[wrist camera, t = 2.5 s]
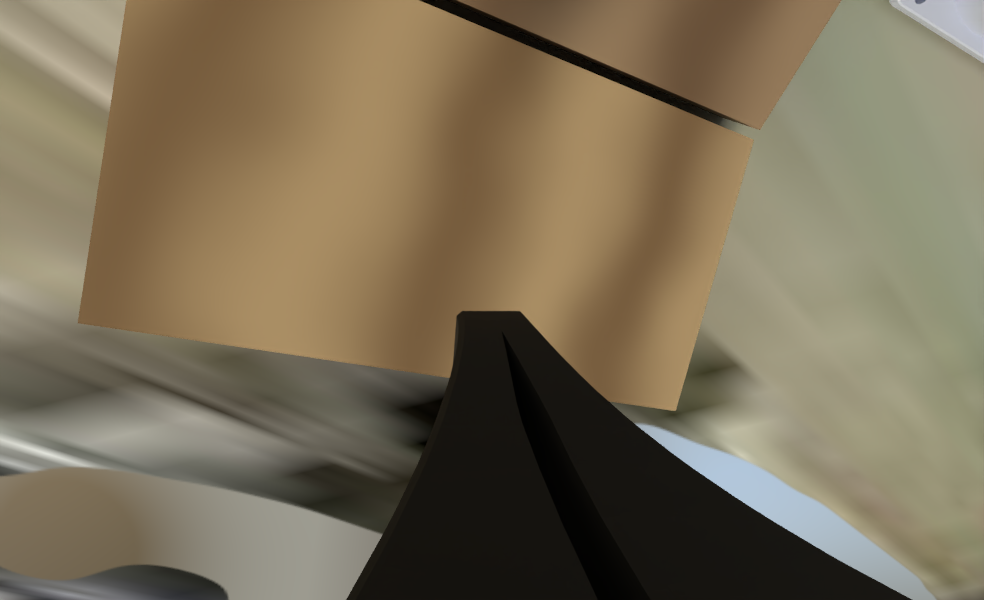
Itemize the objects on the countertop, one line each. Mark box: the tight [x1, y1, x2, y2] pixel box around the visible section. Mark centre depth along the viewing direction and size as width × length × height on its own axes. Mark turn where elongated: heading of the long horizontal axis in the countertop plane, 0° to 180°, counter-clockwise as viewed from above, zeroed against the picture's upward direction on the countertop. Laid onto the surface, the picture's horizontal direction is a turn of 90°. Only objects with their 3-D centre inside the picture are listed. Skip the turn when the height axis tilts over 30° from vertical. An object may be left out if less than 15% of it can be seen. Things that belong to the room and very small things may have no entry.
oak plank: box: [78, 0, 754, 411], centre depth 13 cm, size 18×10×2 cm, turn 70°
